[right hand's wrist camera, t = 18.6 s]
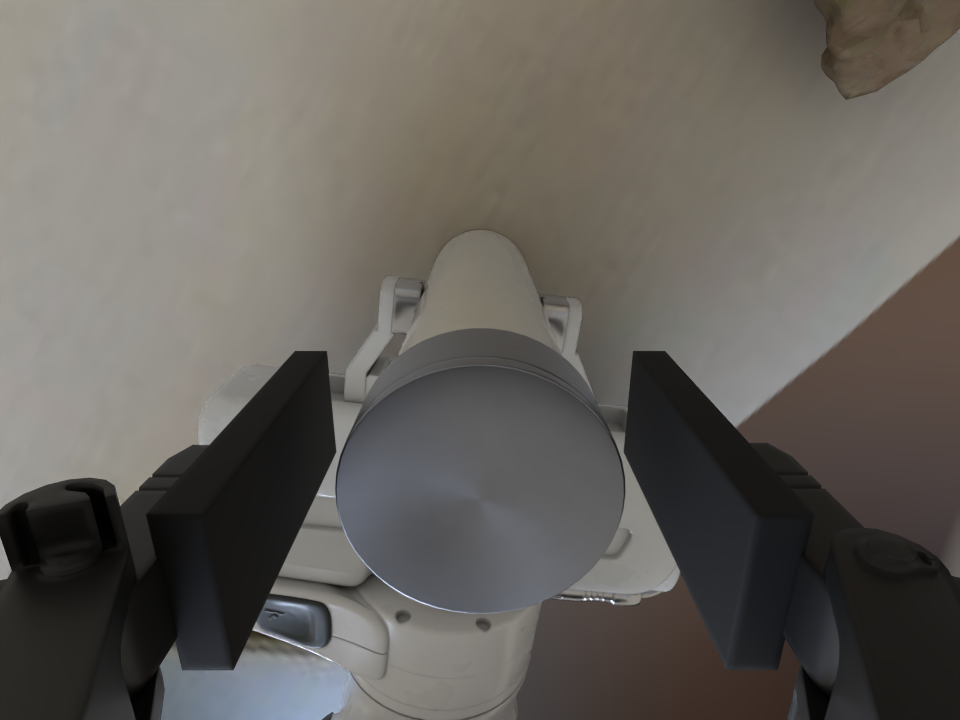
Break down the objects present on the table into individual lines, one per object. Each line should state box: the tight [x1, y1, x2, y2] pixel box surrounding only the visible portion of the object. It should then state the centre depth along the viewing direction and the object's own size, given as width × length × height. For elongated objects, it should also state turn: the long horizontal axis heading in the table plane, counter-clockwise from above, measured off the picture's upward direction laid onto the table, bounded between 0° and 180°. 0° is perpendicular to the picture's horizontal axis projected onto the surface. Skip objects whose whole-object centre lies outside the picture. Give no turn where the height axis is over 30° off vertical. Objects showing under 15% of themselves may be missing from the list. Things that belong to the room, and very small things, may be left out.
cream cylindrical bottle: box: [398, 230, 563, 356], centre depth 19 cm, size 5×5×18 cm
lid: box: [335, 328, 625, 614], centre depth 11 cm, size 5×5×2 cm
